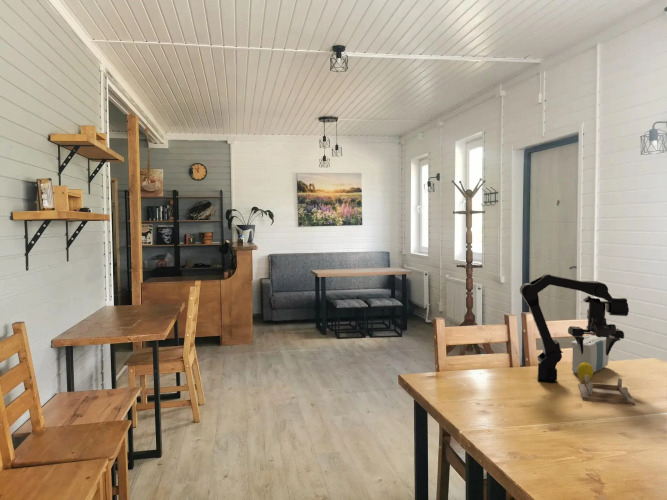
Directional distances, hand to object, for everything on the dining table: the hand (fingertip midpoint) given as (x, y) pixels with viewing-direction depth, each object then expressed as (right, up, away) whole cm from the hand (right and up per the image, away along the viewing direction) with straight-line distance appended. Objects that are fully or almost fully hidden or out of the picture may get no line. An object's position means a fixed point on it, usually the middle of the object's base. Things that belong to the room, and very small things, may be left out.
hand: (594, 354), depth 196 cm
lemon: (-2, -11, +2) cm, 12 cm away
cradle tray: (-3, -12, -13) cm, 18 cm away
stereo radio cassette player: (+7, -11, +18) cm, 22 cm away
